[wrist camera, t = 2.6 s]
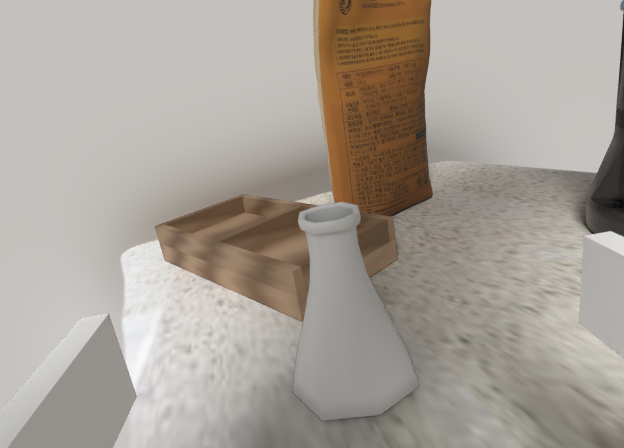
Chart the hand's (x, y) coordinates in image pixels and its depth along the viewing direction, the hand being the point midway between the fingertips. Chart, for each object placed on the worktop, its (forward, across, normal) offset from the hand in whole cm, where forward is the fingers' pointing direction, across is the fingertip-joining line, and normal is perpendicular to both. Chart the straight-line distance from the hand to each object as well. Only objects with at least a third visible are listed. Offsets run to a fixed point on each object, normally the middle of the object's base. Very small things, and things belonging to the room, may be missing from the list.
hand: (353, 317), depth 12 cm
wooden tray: (+29, -5, -10) cm, 31 cm away
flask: (+10, 0, -10) cm, 14 cm away
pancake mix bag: (+38, +10, -10) cm, 41 cm away
